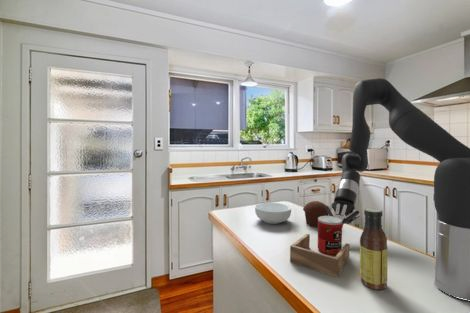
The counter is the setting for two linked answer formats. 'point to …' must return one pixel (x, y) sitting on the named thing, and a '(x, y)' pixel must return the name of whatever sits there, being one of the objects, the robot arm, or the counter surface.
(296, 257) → the wooden u-shaped frame
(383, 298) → the counter surface
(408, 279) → the counter surface
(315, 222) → the muffin
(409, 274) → the counter surface
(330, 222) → the canned food
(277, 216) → the cereal bowl
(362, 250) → the sauce bottle
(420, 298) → the counter surface
